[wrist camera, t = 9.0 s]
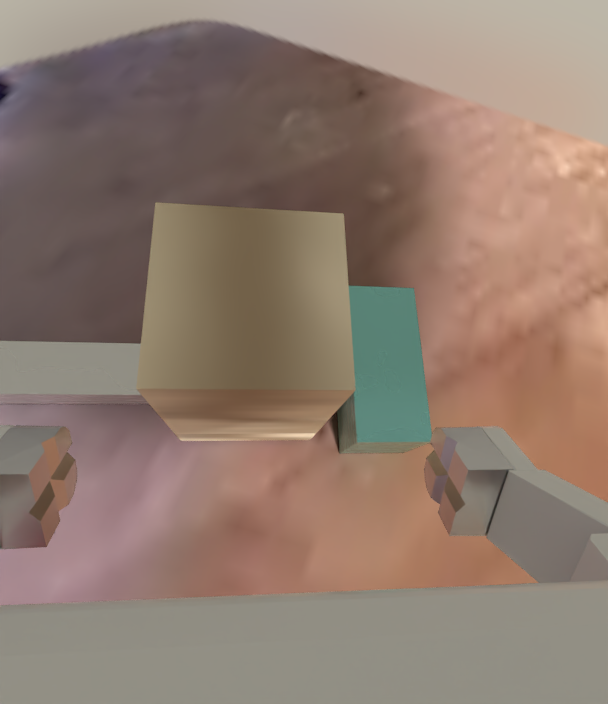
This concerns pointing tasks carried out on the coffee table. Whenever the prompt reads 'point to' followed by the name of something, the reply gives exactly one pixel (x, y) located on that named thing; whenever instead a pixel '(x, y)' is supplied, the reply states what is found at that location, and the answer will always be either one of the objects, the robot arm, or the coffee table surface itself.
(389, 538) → the coffee table surface
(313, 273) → the beige slider block
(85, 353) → the rail
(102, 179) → the coffee table surface
